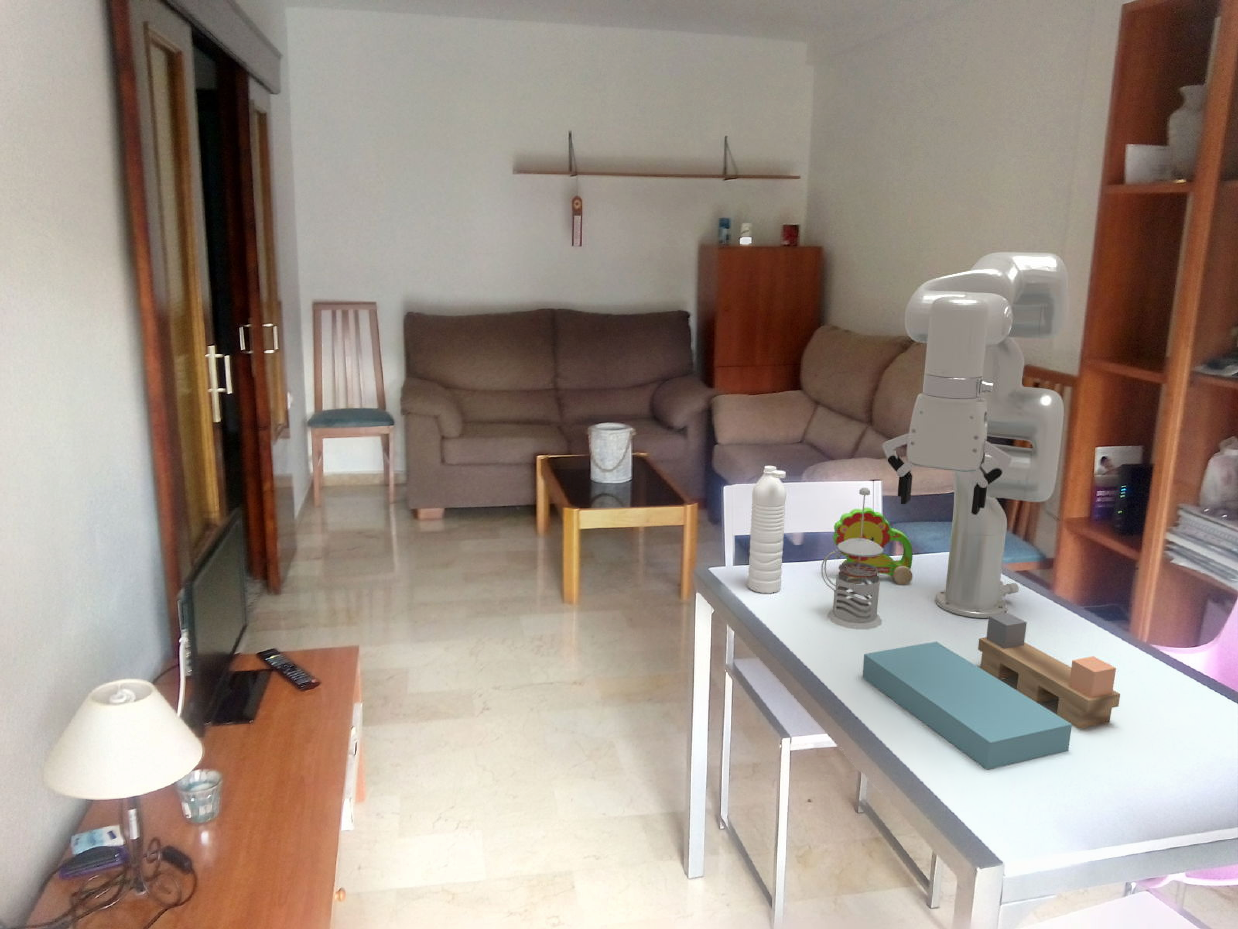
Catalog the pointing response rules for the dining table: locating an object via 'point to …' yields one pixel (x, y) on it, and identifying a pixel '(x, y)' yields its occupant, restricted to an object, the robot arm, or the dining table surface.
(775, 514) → the water bottle
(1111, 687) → the pink cube
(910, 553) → the toy lion
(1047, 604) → the dining table surface
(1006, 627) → the block
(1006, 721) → the block
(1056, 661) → the pallet
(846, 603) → the french press
